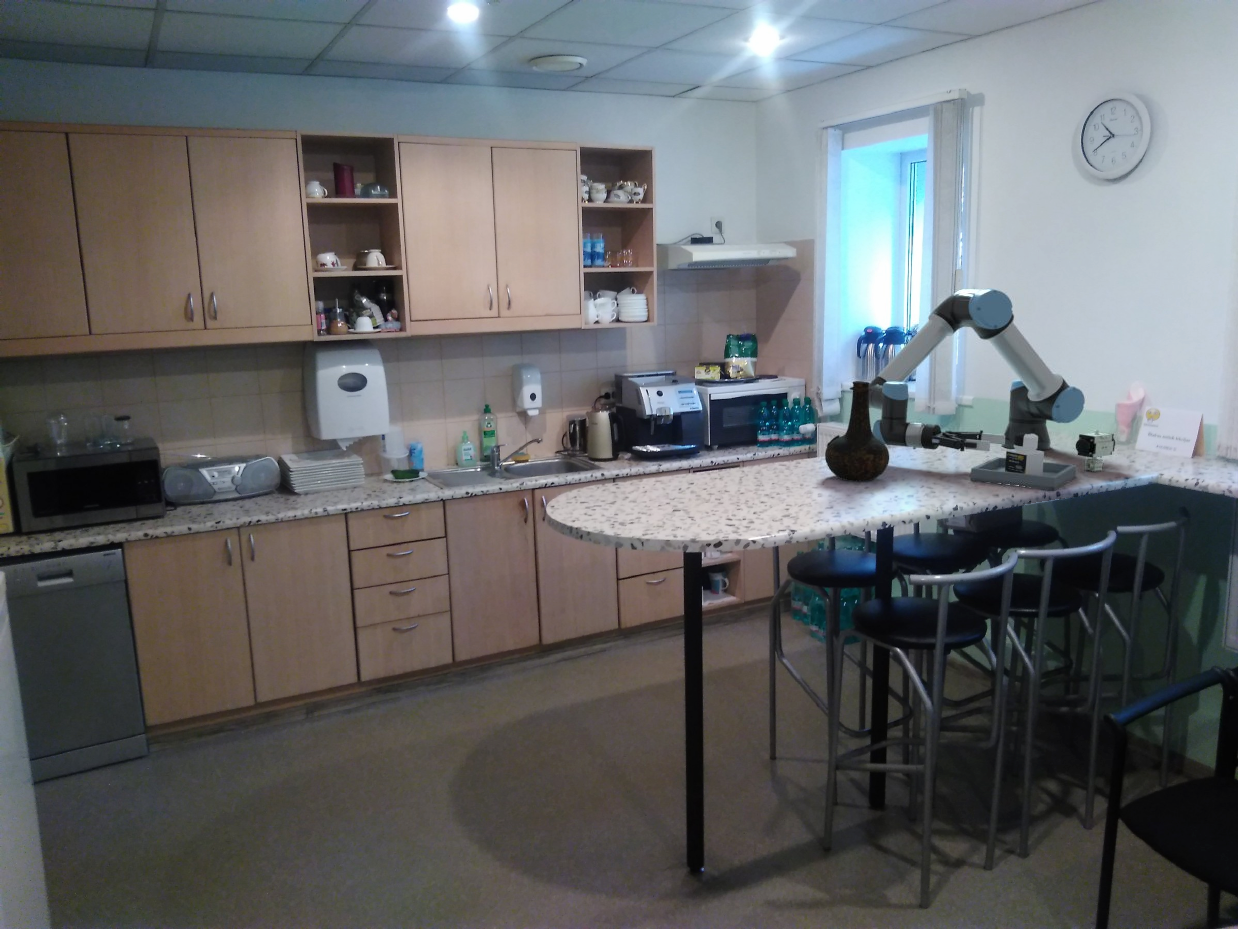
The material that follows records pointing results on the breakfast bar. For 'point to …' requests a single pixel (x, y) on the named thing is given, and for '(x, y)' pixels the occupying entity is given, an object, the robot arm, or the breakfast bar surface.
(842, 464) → the glass bottle
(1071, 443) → the breakfast bar surface
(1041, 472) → the medicine bottle
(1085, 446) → the pneumatic valve
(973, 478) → the tray
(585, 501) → the breakfast bar surface
